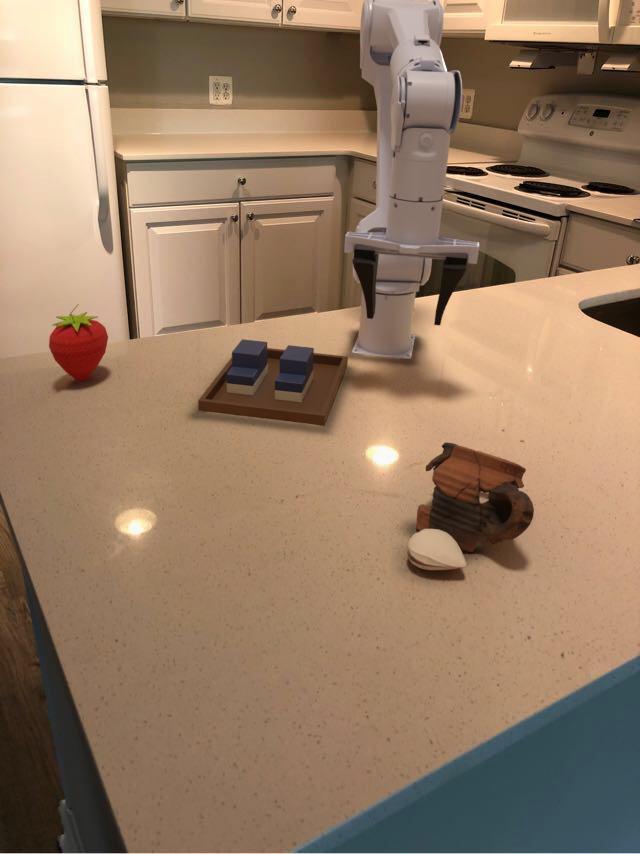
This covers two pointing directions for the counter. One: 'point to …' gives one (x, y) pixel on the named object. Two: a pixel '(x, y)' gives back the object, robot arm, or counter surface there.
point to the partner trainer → (247, 367)
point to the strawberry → (78, 344)
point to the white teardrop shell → (435, 551)
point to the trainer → (294, 373)
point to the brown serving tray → (263, 401)
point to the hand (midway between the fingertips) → (403, 319)
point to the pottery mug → (476, 497)
